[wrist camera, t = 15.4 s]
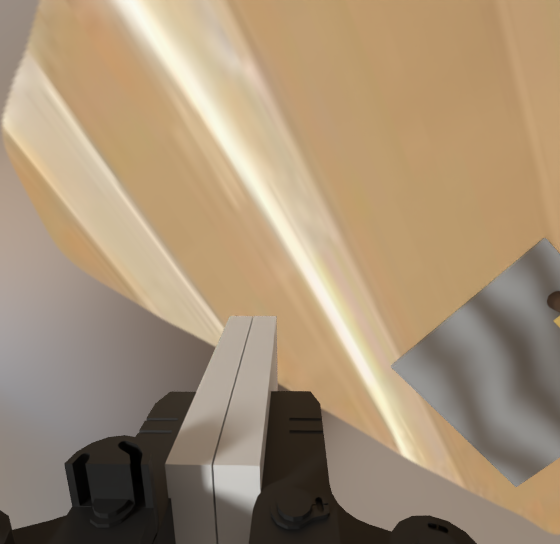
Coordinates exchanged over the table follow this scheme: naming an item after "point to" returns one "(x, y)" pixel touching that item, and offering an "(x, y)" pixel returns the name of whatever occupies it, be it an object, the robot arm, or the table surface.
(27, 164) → the table surface
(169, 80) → the table surface
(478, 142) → the table surface
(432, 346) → the fence base
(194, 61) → the table surface
